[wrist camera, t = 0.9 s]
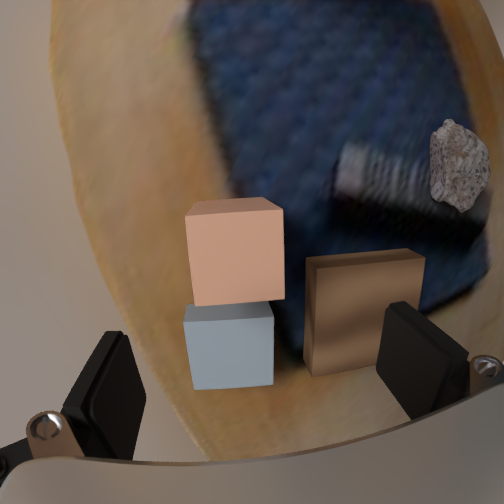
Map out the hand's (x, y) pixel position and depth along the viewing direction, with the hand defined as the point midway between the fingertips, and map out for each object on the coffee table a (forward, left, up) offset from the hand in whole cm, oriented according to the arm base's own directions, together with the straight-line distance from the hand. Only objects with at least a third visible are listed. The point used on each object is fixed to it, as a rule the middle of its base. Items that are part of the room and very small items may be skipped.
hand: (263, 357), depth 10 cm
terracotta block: (-1, 0, -19) cm, 19 cm away
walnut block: (+8, +13, -19) cm, 24 cm away
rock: (-7, +25, -19) cm, 32 cm away
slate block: (+10, -1, -19) cm, 22 cm away
